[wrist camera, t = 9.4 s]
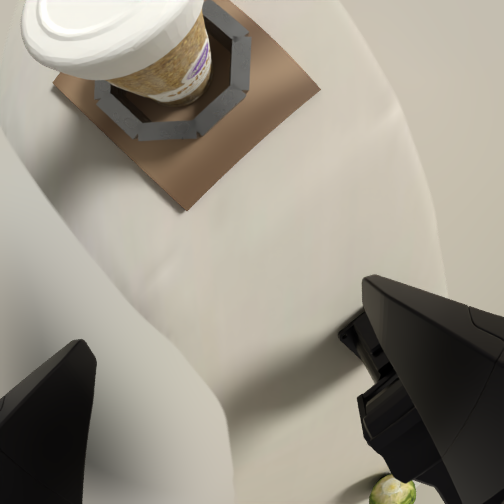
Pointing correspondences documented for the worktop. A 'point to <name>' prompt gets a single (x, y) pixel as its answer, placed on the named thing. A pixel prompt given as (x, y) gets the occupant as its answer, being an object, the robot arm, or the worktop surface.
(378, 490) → the lettuce
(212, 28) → the socket collar
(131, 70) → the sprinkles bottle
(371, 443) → the robot arm
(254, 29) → the socket board
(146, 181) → the worktop surface
